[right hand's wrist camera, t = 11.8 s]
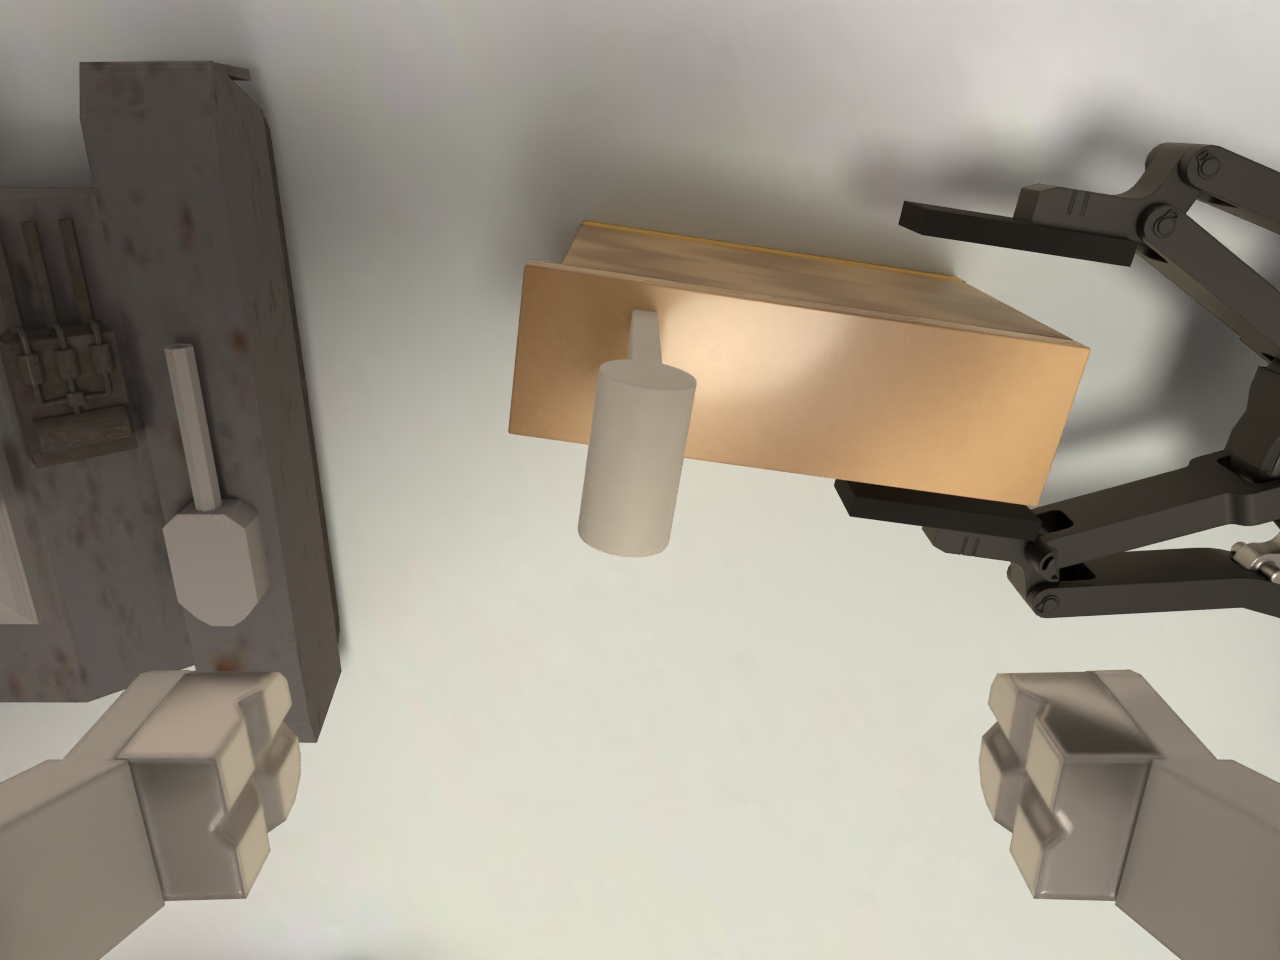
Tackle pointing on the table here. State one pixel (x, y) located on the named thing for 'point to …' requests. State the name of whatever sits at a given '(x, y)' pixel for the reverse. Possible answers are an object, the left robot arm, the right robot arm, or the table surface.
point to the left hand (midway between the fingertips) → (876, 361)
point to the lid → (774, 395)
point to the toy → (158, 408)
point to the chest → (793, 276)
